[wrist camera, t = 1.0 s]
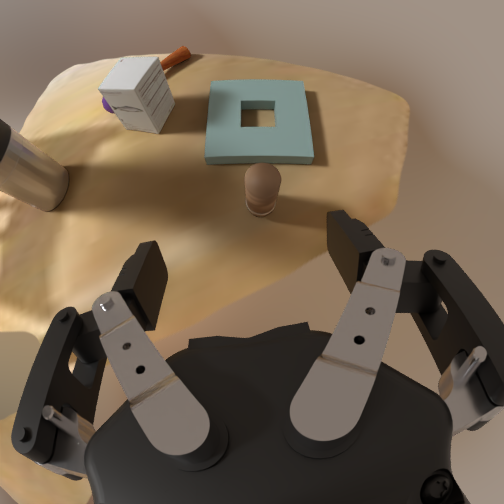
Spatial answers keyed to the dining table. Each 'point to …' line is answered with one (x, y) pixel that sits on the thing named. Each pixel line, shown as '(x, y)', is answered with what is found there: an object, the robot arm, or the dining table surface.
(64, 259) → the dining table surface
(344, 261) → the robot arm
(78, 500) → the dining table surface
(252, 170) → the peg
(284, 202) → the dining table surface
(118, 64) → the supplement box
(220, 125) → the board
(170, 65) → the kendama
